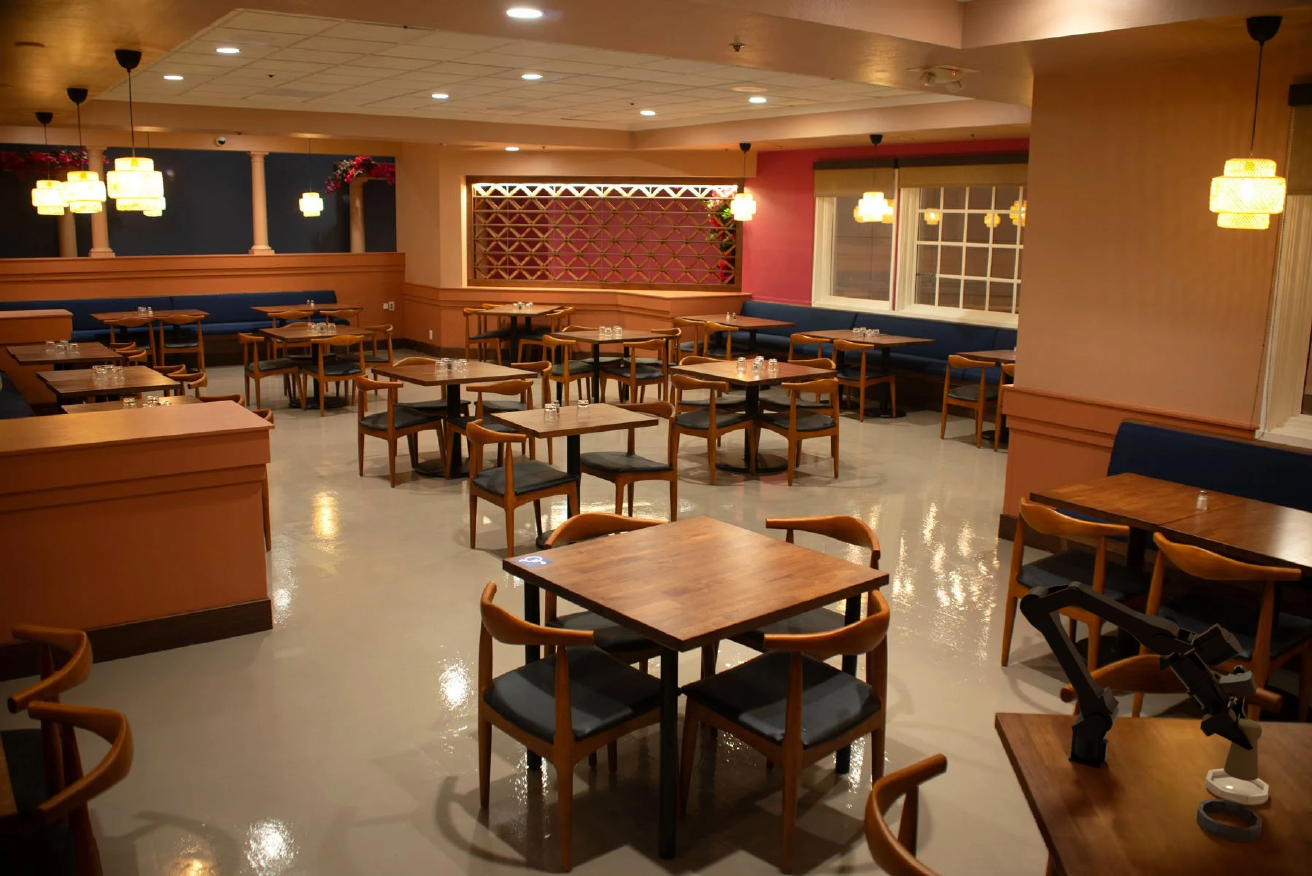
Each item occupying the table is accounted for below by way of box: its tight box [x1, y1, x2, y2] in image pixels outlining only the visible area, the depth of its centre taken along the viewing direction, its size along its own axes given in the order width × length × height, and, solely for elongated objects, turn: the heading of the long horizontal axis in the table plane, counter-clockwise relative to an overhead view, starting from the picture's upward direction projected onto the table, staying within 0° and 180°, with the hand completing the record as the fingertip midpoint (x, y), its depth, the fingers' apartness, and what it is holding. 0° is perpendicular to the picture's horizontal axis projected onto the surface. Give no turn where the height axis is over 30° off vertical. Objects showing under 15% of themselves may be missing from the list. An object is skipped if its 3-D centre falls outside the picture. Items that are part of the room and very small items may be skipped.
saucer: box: [1205, 767, 1270, 806], centre depth 212 cm, size 11×11×2 cm
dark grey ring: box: [1195, 798, 1263, 843], centre depth 199 cm, size 11×11×2 cm
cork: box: [1223, 718, 1263, 781], centre depth 207 cm, size 6×6×11 cm
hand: (1252, 743), depth 206 cm, fingers closed on cork, 5 cm apart
